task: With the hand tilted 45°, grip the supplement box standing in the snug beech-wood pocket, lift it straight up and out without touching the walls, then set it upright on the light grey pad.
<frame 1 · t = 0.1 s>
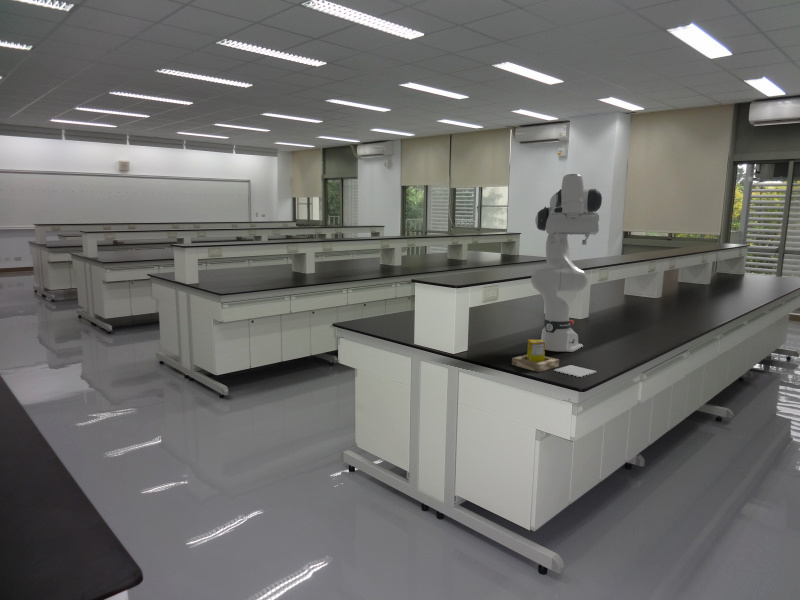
hand: (572, 244, 215), 52 cm above the table, tool tilted 20°, fingers open, 8 cm apart
grey pad: (575, 371, 219), on the table
pocket holder: (535, 365, 228), on the table
supplement box: (535, 366, 228), resting in pocket holder
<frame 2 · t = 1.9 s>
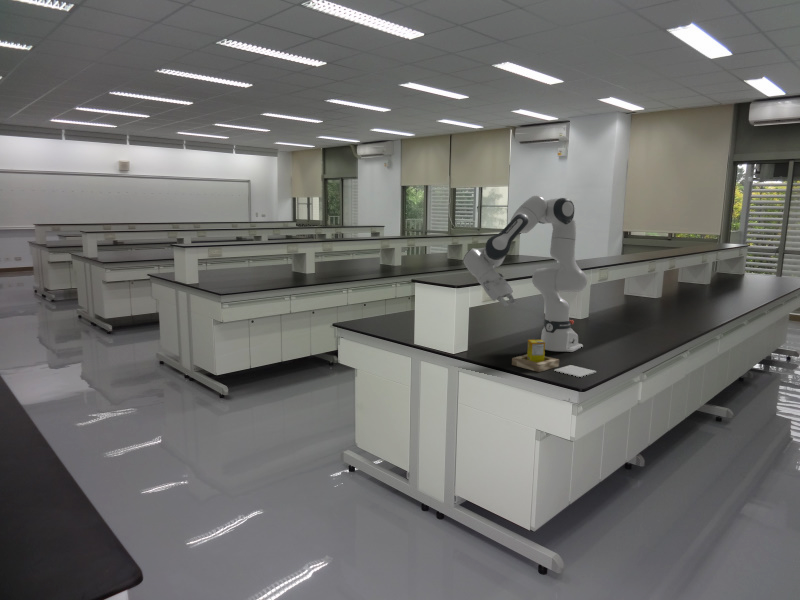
hand: (510, 304, 230), 25 cm above the table, tool tilted 45°, fingers open, 8 cm apart
nothing on the table moved.
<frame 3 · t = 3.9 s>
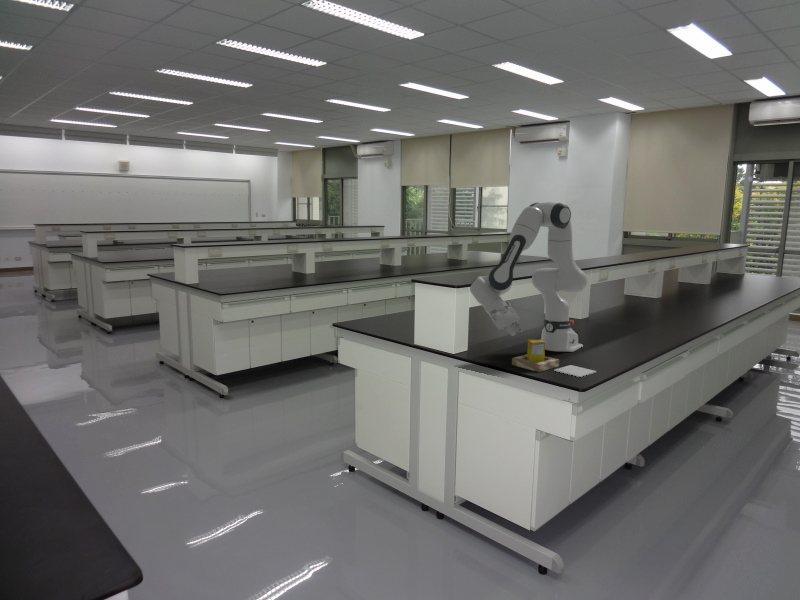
hand: (518, 333, 230), 13 cm above the table, tool tilted 45°, fingers open, 8 cm apart
nothing on the table moved.
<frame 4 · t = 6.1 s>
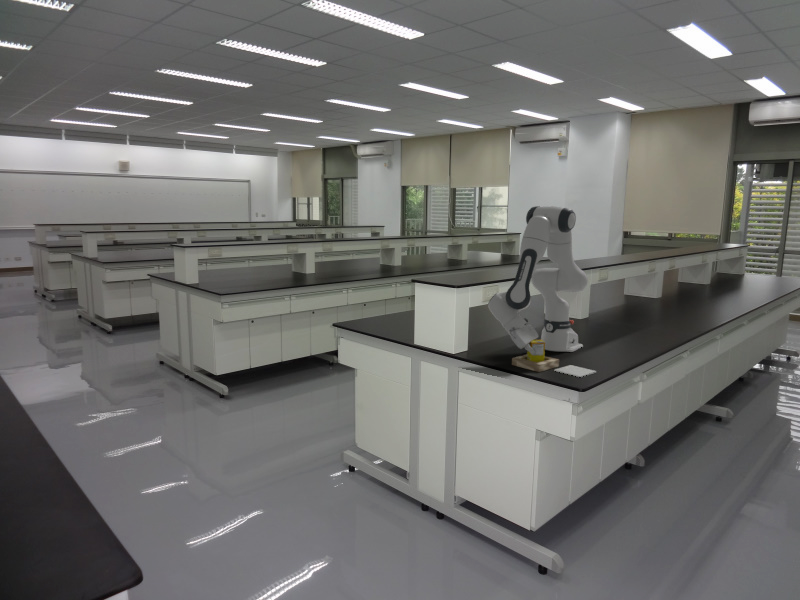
hand: (537, 351, 227), 6 cm above the table, tool tilted 45°, fingers closed on supplement box, 8 cm apart
supplement box: (535, 366, 228), resting in pocket holder, touching gripper
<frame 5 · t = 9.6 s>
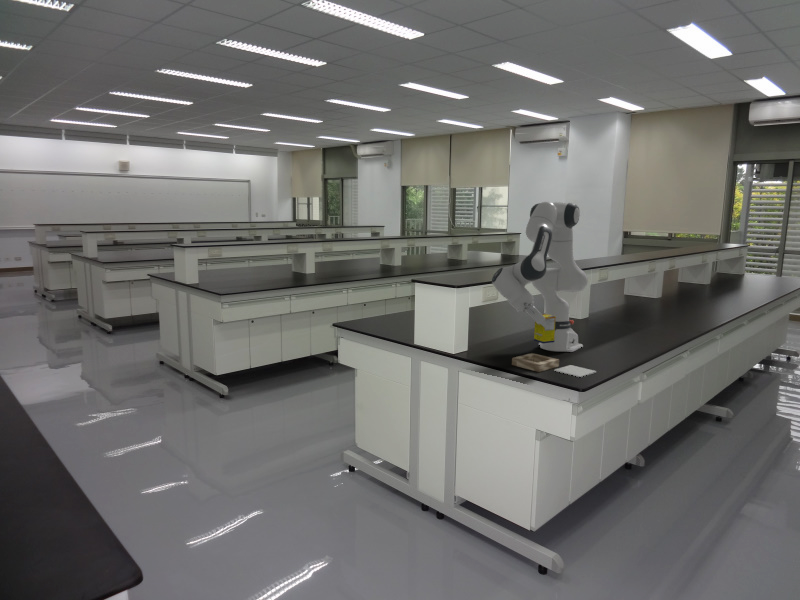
hand: (546, 326, 217), 19 cm above the table, tool tilted 45°, fingers closed on supplement box, 8 cm apart
supplement box: (543, 342, 218), point 12 cm above the table, touching gripper
when the fingers open (8 cm above the table, at t = 13.4 s): supplement box drops 1 cm, resting on grey pad.
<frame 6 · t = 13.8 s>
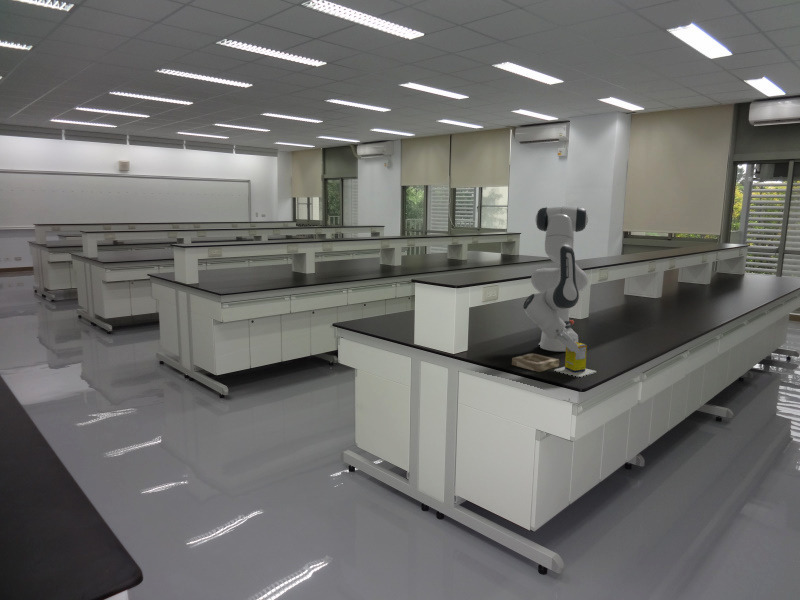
hand: (577, 352, 218), 8 cm above the table, tool tilted 45°, fingers open, 8 cm apart
supplement box: (574, 370, 220), resting on grey pad, touching gripper
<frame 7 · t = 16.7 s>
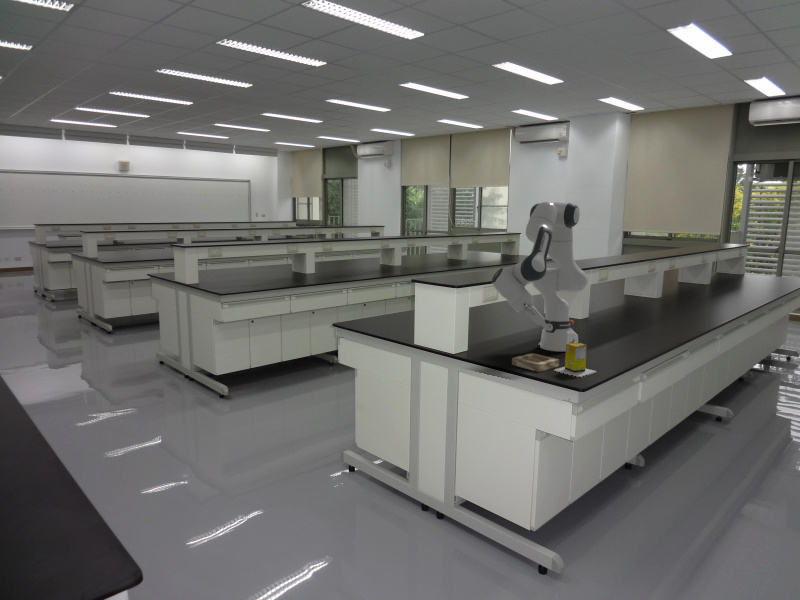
hand: (546, 326, 218), 18 cm above the table, tool tilted 45°, fingers open, 8 cm apart
supplement box: (574, 370, 220), resting on grey pad
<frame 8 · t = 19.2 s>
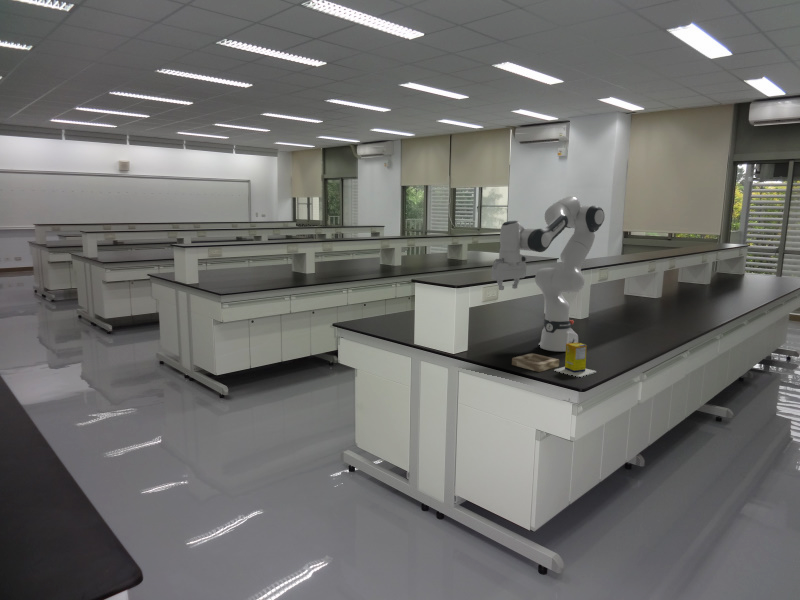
hand: (508, 289, 237), 31 cm above the table, tool pointing down, fingers open, 8 cm apart
nothing on the table moved.
at the end: supplement box inside the target area on the grey pad (0.6 cm from its centre), point 0.4 cm above the grey pad's base; supplement box tilted 0°; the gripper is holding nothing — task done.
